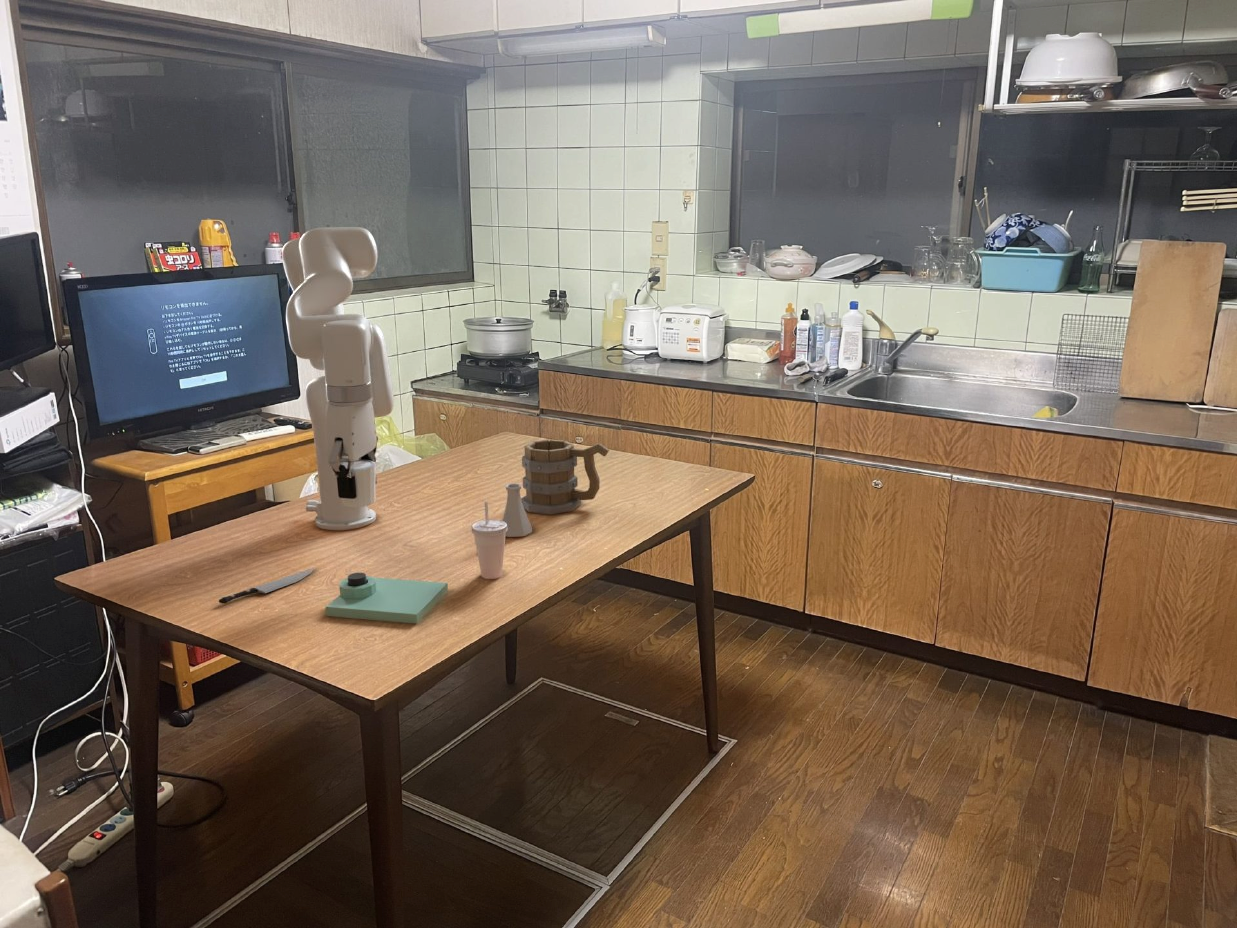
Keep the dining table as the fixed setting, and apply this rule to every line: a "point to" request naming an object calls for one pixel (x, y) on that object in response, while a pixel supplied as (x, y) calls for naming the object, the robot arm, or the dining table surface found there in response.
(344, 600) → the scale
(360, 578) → the button
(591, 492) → the tankard
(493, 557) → the smoothie
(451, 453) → the dining table surface
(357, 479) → the white tapered cup
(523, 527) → the flask
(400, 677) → the dining table surface
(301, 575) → the chef's knife
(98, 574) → the dining table surface
